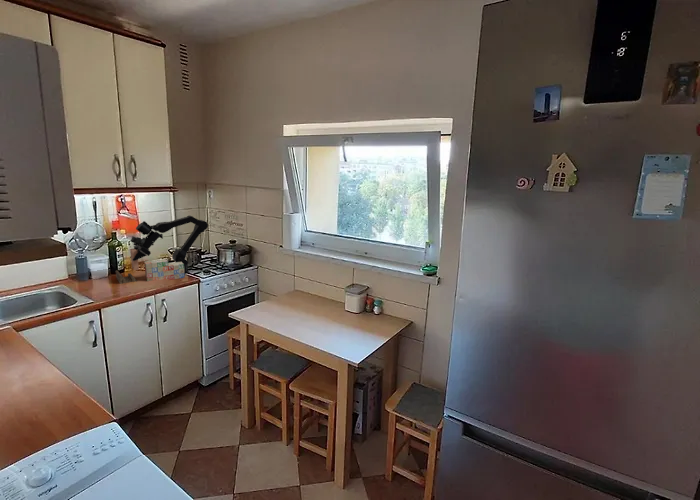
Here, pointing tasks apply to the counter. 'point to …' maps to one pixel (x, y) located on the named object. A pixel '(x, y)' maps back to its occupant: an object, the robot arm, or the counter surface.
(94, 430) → the counter surface
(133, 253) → the beige flat slab
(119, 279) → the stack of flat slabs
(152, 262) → the stack of blocks
